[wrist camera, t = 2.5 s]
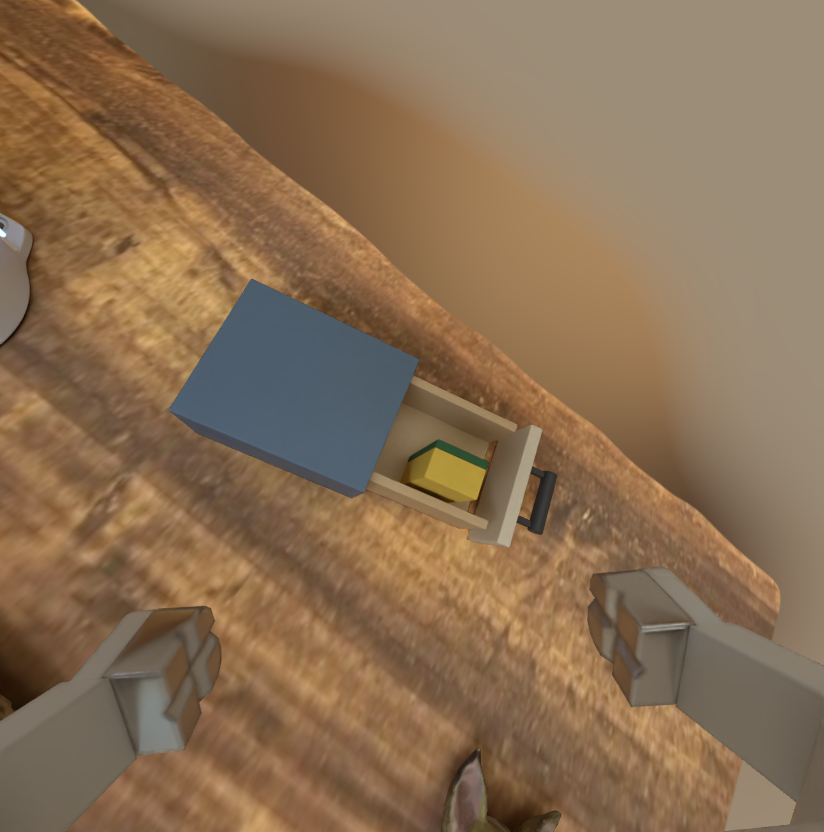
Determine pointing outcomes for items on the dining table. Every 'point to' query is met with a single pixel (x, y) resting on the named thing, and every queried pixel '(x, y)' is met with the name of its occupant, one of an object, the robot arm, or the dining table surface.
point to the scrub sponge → (445, 472)
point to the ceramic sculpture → (482, 804)
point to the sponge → (5, 708)
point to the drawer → (472, 432)
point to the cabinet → (297, 390)
